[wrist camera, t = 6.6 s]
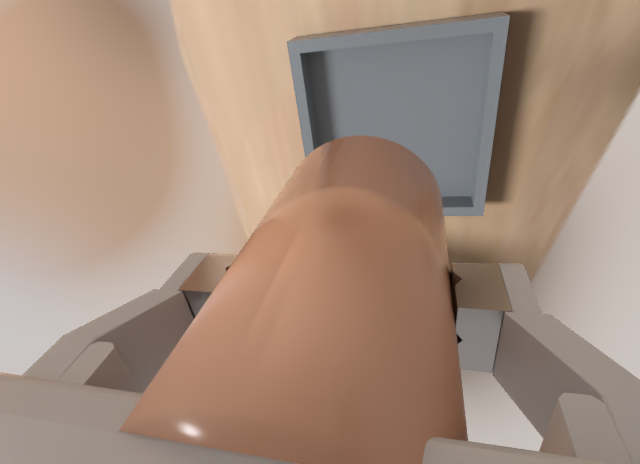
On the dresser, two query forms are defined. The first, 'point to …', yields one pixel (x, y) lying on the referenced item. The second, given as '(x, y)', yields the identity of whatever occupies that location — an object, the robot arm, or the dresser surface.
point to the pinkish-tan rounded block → (325, 324)
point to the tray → (410, 95)
